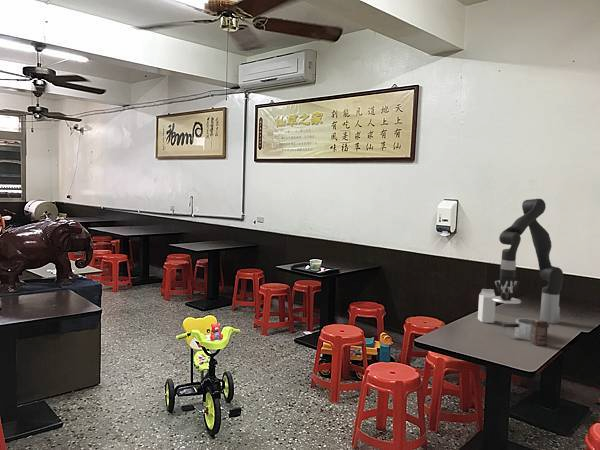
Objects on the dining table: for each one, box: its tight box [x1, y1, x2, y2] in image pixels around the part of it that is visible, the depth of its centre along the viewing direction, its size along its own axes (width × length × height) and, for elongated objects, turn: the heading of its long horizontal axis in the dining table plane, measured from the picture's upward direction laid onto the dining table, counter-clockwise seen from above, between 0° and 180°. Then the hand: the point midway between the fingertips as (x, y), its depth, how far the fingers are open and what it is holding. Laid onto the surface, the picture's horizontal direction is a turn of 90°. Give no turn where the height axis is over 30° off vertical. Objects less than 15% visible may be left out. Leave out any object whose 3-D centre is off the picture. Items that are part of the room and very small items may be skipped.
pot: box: [501, 317, 550, 341], centre depth 243 cm, size 25×14×8 cm, turn 95°
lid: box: [491, 291, 522, 305], centre depth 255 cm, size 15×15×4 cm
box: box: [530, 319, 549, 346], centre depth 231 cm, size 6×4×12 cm
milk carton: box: [477, 288, 497, 324], centre depth 271 cm, size 7×7×19 cm
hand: (505, 299), depth 255 cm, fingers closed on lid, 3 cm apart
